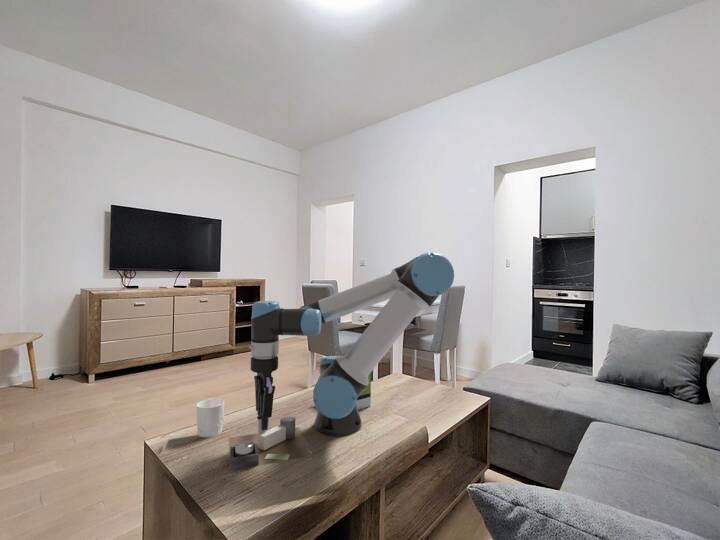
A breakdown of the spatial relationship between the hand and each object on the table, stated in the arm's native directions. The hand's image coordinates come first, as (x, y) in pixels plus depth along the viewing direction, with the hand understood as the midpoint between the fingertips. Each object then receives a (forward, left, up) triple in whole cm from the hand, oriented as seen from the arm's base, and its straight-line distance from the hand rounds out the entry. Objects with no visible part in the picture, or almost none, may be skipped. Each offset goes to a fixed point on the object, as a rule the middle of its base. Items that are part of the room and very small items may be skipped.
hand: (263, 439), depth 95 cm
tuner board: (-1, +1, -3) cm, 3 cm away
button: (+5, +7, 0) cm, 9 cm away
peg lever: (-4, 0, -1) cm, 4 cm away
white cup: (+14, -14, -3) cm, 20 cm away
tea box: (-35, -25, -3) cm, 43 cm away
